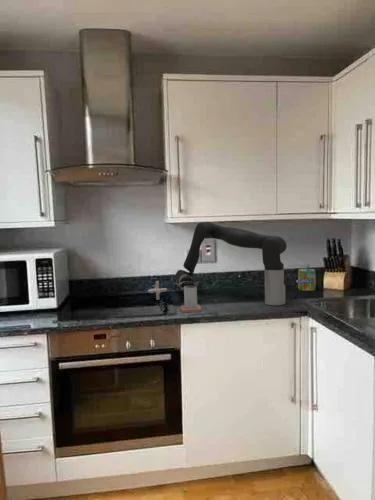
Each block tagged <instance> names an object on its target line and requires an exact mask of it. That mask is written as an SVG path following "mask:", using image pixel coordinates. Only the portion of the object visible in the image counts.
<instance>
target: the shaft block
mask: <svg viewBox="0 0 375 500" xmlns="http://www.w3.org/2000/svg"><path fill="white" fill-rule="evenodd" d="M180 309H181V313H182V314H183V313H201V312H202V308H201V306H200V304H197V308H195V309H186V308H185V304H183V305H181V306H180Z"/></svg>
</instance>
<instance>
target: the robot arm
mask: <svg viewBox="0 0 375 500" xmlns="http://www.w3.org/2000/svg"><path fill="white" fill-rule="evenodd" d="M205 239H206V240H207V239H214V240H215V239H217V240H221V241H223V242H225V243H226V244H228V245H230V246H235V247H239V248H247V249H259V250H261V251H262V252H261V253H262V263H263V266H264V303H265V305H269V306H281V305H286V284H285V276H284V275H285V272H284V271H285V269H284V267H285V266H284V265H285V264H284V263H283V262H282V260H281V255H282V254H283V253H284V252H285V251H286V249H287V242H286V240H285V239H284V238H282V237H280V236H275V235H266V234H259V233H256V232H253V231H249V230H245V229H242V228H236V227H230V226H228V227H227V226H222V225H218V224H216V223H213V222H211V221H204V222H203V221H202V222H199V223H197V224H196V226H195V228H194V232H193V236H192V239H191V244H190V248H189V249H188V253H187V254H186V255H187V256H186V258H185V259H184V263H183V268H184V269H186V270H183V269H179V270H177V271H176V273H175V276H174V277H175V282H174V283H173V289H174V290H179V291H181V290H183V291H184V286H191V285H192V286H197V291H198V290H199V289H202V284H203V283H202V282H201V281H197V282H196V281H194V273H195V269H196V266H197V265H198V263H199V259H200V255H201V253H200V251H201V245H202V243H203V242H204V240H205Z"/></svg>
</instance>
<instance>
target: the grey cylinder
mask: <svg viewBox="0 0 375 500" xmlns="http://www.w3.org/2000/svg"><path fill="white" fill-rule="evenodd" d="M183 295H184V296H183V298H184V299H183V301H184V302H183V305H185V308H186V309H195V308H197V305H198V290H197V286H192V285H191V286H184V290H183Z"/></svg>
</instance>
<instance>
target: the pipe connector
mask: <svg viewBox="0 0 375 500" xmlns="http://www.w3.org/2000/svg"><path fill="white" fill-rule="evenodd" d="M167 291H168V288H167V287H164V288H163V287H162V288H160V280H156V281H155V286H154V288H151V289H150V288H149V289H147V292H148V293H149V294H152V293H155V297H156V300H157V301H158V300H159V301H160V294H161V293H162V292H167Z"/></svg>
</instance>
